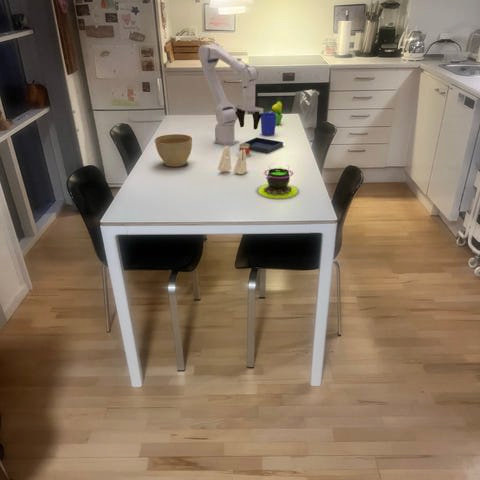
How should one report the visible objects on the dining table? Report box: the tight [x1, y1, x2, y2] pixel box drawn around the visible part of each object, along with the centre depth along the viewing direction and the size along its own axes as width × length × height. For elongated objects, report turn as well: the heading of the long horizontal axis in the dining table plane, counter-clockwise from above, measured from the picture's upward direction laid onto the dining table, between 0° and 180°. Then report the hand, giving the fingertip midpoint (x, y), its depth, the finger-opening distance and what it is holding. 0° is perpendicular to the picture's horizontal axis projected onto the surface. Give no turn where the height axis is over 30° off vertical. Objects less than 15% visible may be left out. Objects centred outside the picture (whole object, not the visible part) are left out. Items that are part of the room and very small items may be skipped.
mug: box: [260, 112, 277, 137], centre depth 249 cm, size 8×12×10 cm
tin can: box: [239, 142, 251, 158], centre depth 219 cm, size 5×5×5 cm
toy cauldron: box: [258, 163, 298, 200], centre depth 180 cm, size 15×15×11 cm
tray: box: [243, 137, 284, 154], centre depth 230 cm, size 15×14×2 cm
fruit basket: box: [263, 100, 283, 126], centre depth 267 cm, size 11×9×11 cm
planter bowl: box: [154, 133, 193, 168], centre depth 208 cm, size 16×16×11 cm
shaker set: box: [217, 145, 248, 175], centre depth 198 cm, size 12×4×11 cm, turn 81°
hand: (248, 127), depth 225 cm, fingers open, 7 cm apart
